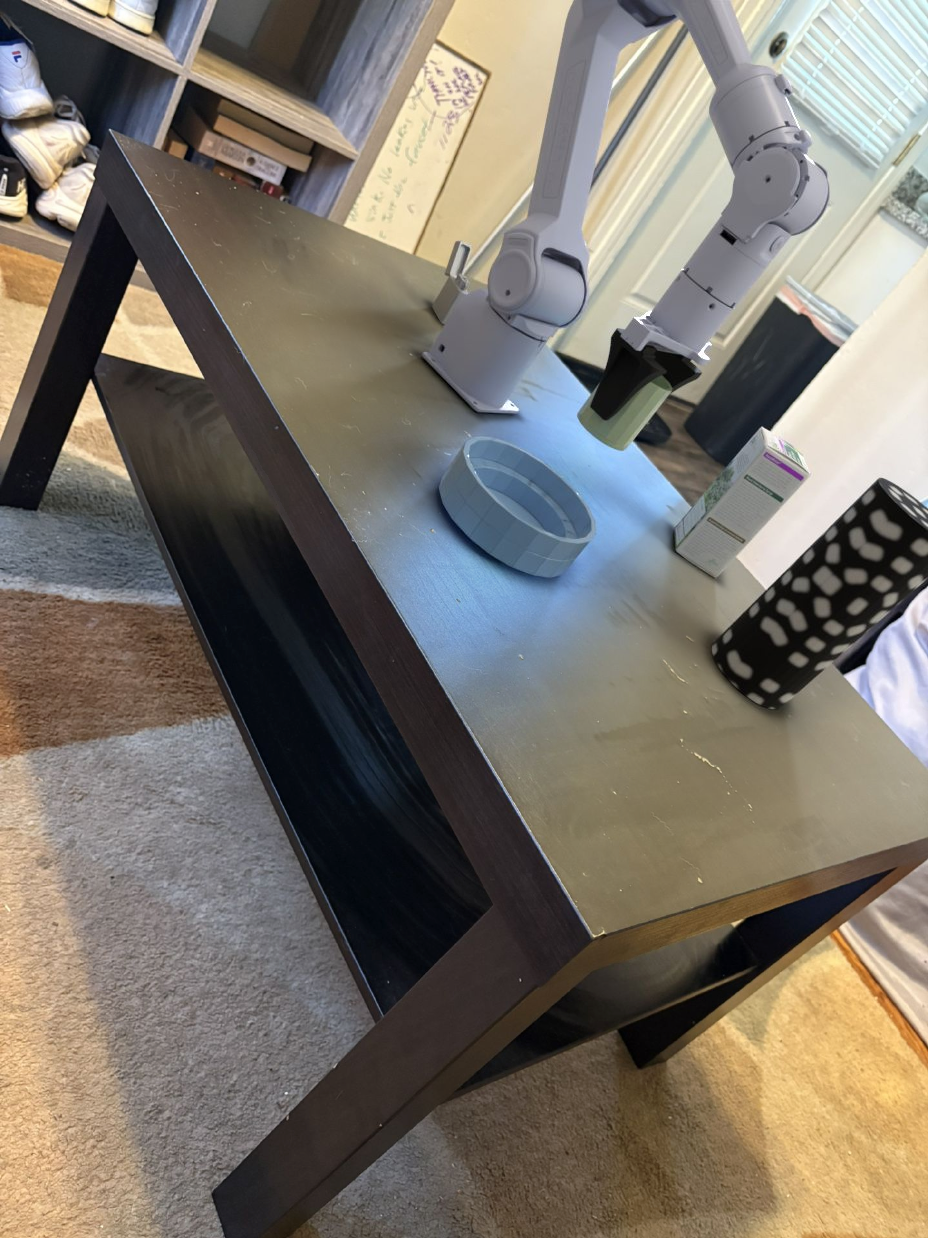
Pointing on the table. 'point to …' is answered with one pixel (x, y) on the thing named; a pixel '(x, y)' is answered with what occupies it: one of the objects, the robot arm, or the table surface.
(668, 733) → the table surface
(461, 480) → the bowl
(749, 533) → the syrup box
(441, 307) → the lighter
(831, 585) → the spotted tube
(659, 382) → the cup
